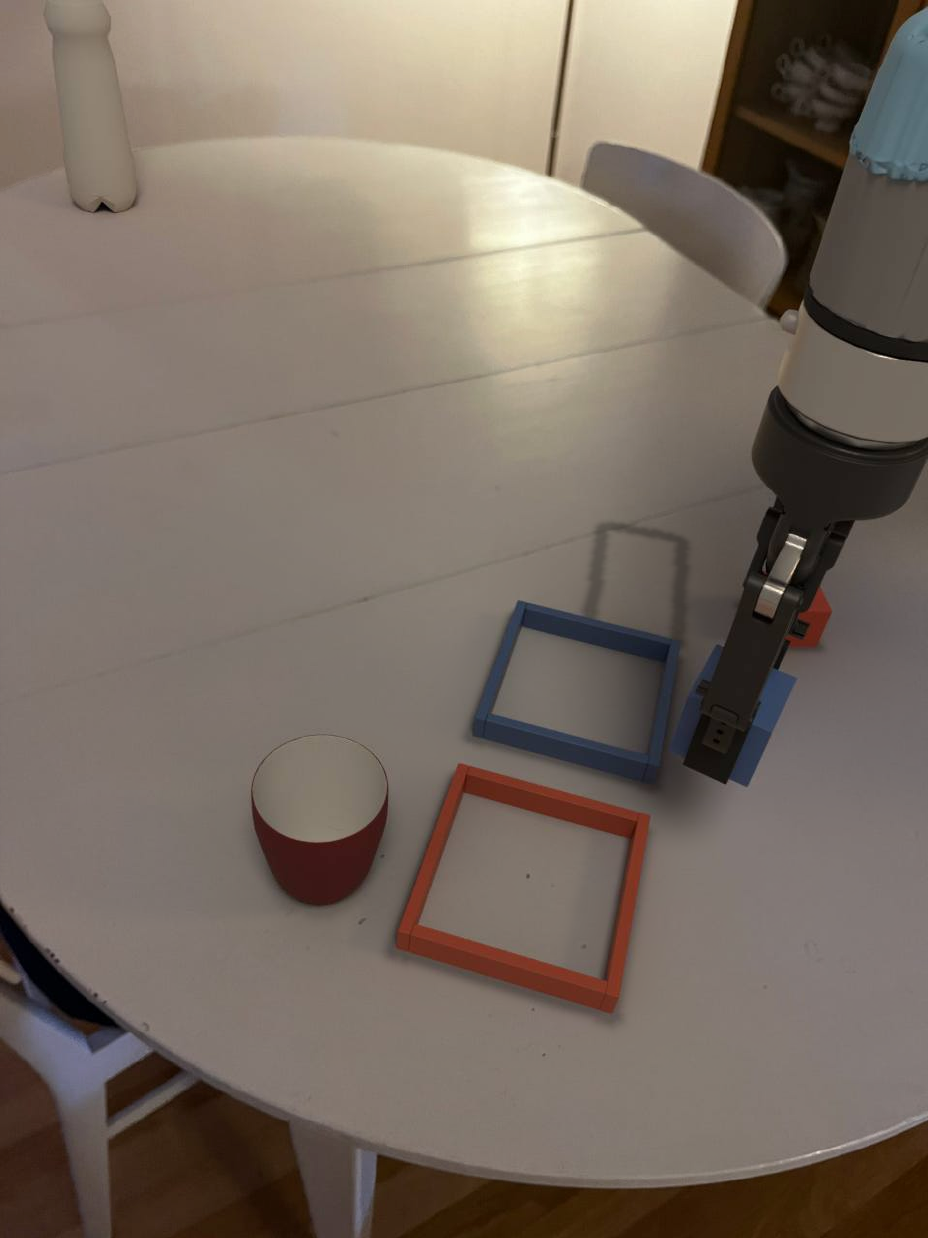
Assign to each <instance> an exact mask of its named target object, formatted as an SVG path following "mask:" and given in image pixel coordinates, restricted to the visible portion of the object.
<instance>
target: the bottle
mask: <svg viewBox="0 0 928 1238" xmlns="http://www.w3.org/2000/svg"><path fill="white" fill-rule="evenodd" d="M42 12H43V13H42V17H43V19H44V22H45V24H46V28H47V30H48V31H49V33H50V35H51V36H52V52H51V53H52V55H51V57H52V64H53V72H54V79H55V89H56V96H57V105H58V111H59V120H60V126H61V127H60V128H61V136H62V143H63V152H62V159H63V165H64V169H65V175H66V180H67V184H68V188H69V195H70V197H71V198H72V200H73V201H74V202H75V203H76V204H77V205H78V207H79V208H81V209H82V210H84V211H85V212H91V213H94V212H95V211H97V210H98V209H99V208H100V205H102V204H101V203H103V204H104V205H106V207H107V208H109V209H110V210H111V211H112V212H113V213H120V212H125V211H127V210H128V209H130V208H131V207H132V205H133V203H134V201H135V199H136V195H137V187H138V186H137V185H138V180H137V170H136V161H135V157H134V155H133V154H134V153H133V151H132V148H131V144H130V138H129V133H128V127H127V122H126V121H127V120H126V115H125V111H124V104H123V99H122V94H121V92H122V91H121V87H120V82H119V75H118V70H117V64H116V58H115V55H114V53H113V50H112V49H113V48H112V46H111V43H110V40H109V34H110V33H111V29H112V16H111V15H110V13H109V11H108V9H107V7H106V5H105V3H104V1H103V0H46V1H45V5H44V9H43V11H42Z"/></svg>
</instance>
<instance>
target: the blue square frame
mask: <svg viewBox="0 0 928 1238" xmlns="http://www.w3.org/2000/svg"><path fill="white" fill-rule="evenodd" d="M522 628H526V629H530V630H534V631H538V632H542V633H546V634H549V635H553V636H556V637H557V636H558V637H560V638H566V639H569V640H574V641H577V642H580V643H581V642H582V643H585V644H589V645H592V646H597V647H601V648H605V649H609V650H613V651H616V652H621V653H625V654H627V655H632V656H636V657H640V658H644V659H647V660H652V661H656V662H659V663H663V667H662V673H661V678H660V683H659V688H658V694H657V699H656V704H655V710H654V716H653V721H652V726H651V727H652V728H651V731H650V736H649V743H648V748H647V752H646V754H645V753H640V752H637V751H633V750H629V749H625V748H622V747H618V746H614V745H610V744H606V743H603V742H599V741H596V740H591V739H587V738H584V737H581V736H577V735H573V734H570V733H565V732H561V731H558V730H556V729H555V730H554V729H550V728H546V727H543V726H541V725H540V726H539V725H536V724H532V723H528V722H524V721H520V720H517V719H513V718H509V717H506V716H502V715H498V714H494V713H493V710H494V708H495V705H496V702H497V699H498V697H499V693H500V691H501V688H502V684H503V682H504V679H505V677H506V673H507V670H508V667H509V664H510V662H511V660H512V659H511V658H512V656H513V653H514V651H515V648H516V644H517V641H518V639H519V636H520V633H521V630H522ZM681 643H682V641H681V640H680V639H677V638H672V637H668V636H664V635H660V634H659V635H658V634H655V633H650V632H647V631H643V630H640V629H636V628H632V627H627V626H624V625H619V624H616V623H611V622H608V621H603V620H600V619H595V618H592V617H588V616H583V615H579V614H575V613H572V612H568V611H564V610H560V609H556V608H551V607H548V606H544V605H539V604H535V603H531V602H527V601H524V600H520V599H518V600H516V604H515V606H514V609H513V612H512V615H511V617H510V620H509V623H508V626H507V629H506V631H505V633H504V636H503V638H502V642H501V645H500V649H499V651H498V654H497V656H496V658H495V661H494V664H493V667H492V670H491V672H490V675H489V678H488V681H487V683H486V686H485V689H484V691H483V694H482V697H481V700H480V702H479V705H478V708H477V711H476V715H475V717H474V723H473V729H472V737H475V738H478V739H483V740H486V741H490V742H493V743H497V744H500V745H504V746H508V747H512V748H516V749H519V750H523V751H526V752H530V753H534V754H537V755H541V756H545V757H549V758H553V759H555V760H560V761H563V762H567V763H570V764H574V765H578V766H581V767H585V768H589V769H593V770H597V771H600V772H604V773H608V774H612V775H616V776H619V777H623V778H626V779H630V780H634V781H636V782H637V781H638V782H642V783H644V784H647V785H652V786H653V785H654V784H655V783H654V782H655V781H656V777H657V775H658V770H659V769H660V763H661V758H662V752H663V746H664V740H665V736H666V729H667V724H668V719H669V712H670V707H671V706H670V705H671V700H672V695H673V689H674V683H675V678H676V671H677V666H678V661H679V654H680V650H681V649H680V648H681Z"/></svg>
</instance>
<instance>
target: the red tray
mask: <svg viewBox="0 0 928 1238" xmlns="http://www.w3.org/2000/svg"><path fill="white" fill-rule="evenodd" d="M464 794H467V795H471V796H475V797H479V798H482V799H486V800H489V801H493V802H497V803H500V804H502V805H503V804H504V805H506V806H510V807H514V808H519V809H522V810H526V811H528V812H533V813H536V814H540V815H542V816H546V817H549V818H550V817H551V818H554V819H557V820H561V821H564V822H569V823H572V824H576V825H578V826H582V827H586V828H589V829H594V830H596V831H600V832H603V833H606V834H607V833H608V834H611V835H615V836H618V837H622V838H625V839H629V840H630V844H629V849H628V855H627V860H626V865H625V870H624V876H623V881H622V886H621V892H620V898H619V903H618V908H617V914H616V918H615V919H616V920H615V923H614V929H613V934H612V940H611V944H610V945H611V946H610V950H609V954H608V961H607V967H606V972H605V977H604V979H601V978H597V977H595V976H591V975H587V974H585V973H582V972H577V971H575V970H571V969H568V968H565V967H561V966H558V965H554V964H551V963H548V962H544V961H541V960H538V959H535V958H531V957H528V956H524V955H521V954H517V953H515V952H512V951H508V950H504V949H501V948H499V947H495V946H491V945H487V944H484V943H481V942H478V941H474V940H471V939H468V938H464V937H461V936H457V935H454V934H452V933H448V932H444V931H441V930H438V929H435V928H431V927H428V926H424V925H421V924H419V923H420V920H421V916H422V914H423V911H424V909H425V906H426V903H427V901H428V897H429V893H430V891H431V888H432V887H433V886H432V885H433V882H434V880H435V877H436V875H437V872H438V869H439V867H440V866H439V865H440V862H441V860H442V857H443V854H444V851H445V848H446V846H447V842H448V839H449V836H450V834H451V831H452V828H453V825H454V822H455V819H456V816H457V814H458V811H459V808H460V805H461V802H462V800H463V796H464ZM650 821H651V815H650V814H647V813H644V812H639V811H636V810H631V809H628V808H625V807H622V806H618V805H614V804H611V803H607V802H603V801H599V800H595V799H592V798H588V797H584V796H581V795H578V794H574V793H570V792H567V791H563V790H560V789H556V788H552V787H548V786H545V785H542V784H538V783H534V782H531V781H528V780H527V781H526V780H523V779H520V778H516V777H512V776H508V775H505V774H501V773H498V772H495V771H494V772H493V771H490V770H487V769H483V768H480V767H476V766H473V765H469V764H465V763H461V762H458V763H457V766H456V769H455V771H454V774H453V777H452V780H451V782H450V785H449V788H448V791H447V793H446V796H445V799H444V801H443V804H442V808H441V810H440V813H439V816H438V819H437V821H436V824H435V826H434V829H433V832H432V835H431V837H430V840H429V842H428V846H427V848H426V852H425V855H424V857H423V860H422V862H421V865H420V868H419V871H418V873H417V876H416V879H415V882H414V885H413V886H412V889H411V893H410V896H409V898H408V901H407V903H406V906H405V909H404V911H403V915H402V917H401V919H400V923H399V925H398V927H397V935H396V947H395V948H396V949H397V950H401V951H403V952H408V953H411V954H414V955H417V956H419V957H420V956H421V957H422V958H426V959H430V960H433V961H437V962H440V963H443V964H446V965H450V966H453V967H456V968H459V969H462V970H466V971H469V972H472V973H476V974H479V975H483V976H486V977H489V978H493V979H496V980H499V981H502V982H506V983H508V984H512V985H516V986H518V987H522V988H525V989H529V990H531V991H535V992H538V993H542V994H544V995H547V996H551V997H555V998H558V999H561V1000H564V1001H568V1002H571V1003H575V1004H578V1005H582V1006H583V1007H584V1006H585V1007H588V1008H591V1009H595V1010H598V1011H601V1012H605V1013H607V1014H611V1015H612V1014H613V1013H614V1012H615V1011H614V1010H615V1008H616V1006H617V1003H618V1001H619V998H620V994H621V987H622V983H623V977H624V971H625V967H626V966H625V965H626V960H627V959H626V958H627V953H628V948H629V942H630V937H631V930H632V925H633V920H634V914H635V907H636V903H637V896H638V891H639V885H640V879H641V873H642V867H643V860H644V855H645V850H646V845H647V839H648V833H649V827H650Z"/></svg>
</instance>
